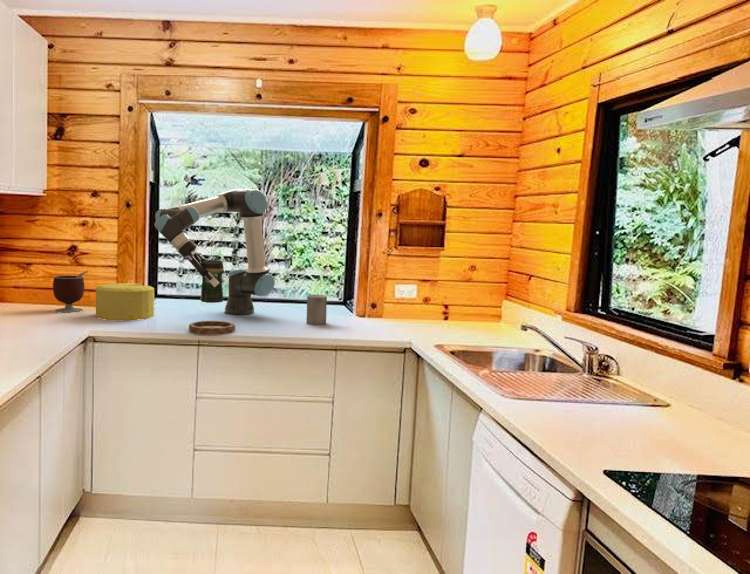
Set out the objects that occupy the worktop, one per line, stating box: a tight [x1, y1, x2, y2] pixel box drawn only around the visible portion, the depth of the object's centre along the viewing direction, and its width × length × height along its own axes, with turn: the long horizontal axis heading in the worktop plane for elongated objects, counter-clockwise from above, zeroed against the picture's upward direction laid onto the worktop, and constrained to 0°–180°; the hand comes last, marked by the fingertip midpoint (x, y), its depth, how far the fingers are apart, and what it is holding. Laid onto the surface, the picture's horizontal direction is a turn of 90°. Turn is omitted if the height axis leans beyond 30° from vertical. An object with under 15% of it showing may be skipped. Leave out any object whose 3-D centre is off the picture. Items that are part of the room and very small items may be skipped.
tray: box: [188, 320, 236, 335], centre depth 265 cm, size 19×19×3 cm
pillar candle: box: [306, 293, 328, 326], centre depth 294 cm, size 10×10×15 cm
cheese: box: [95, 282, 155, 321], centre depth 289 cm, size 26×26×15 cm
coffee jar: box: [200, 259, 225, 304], centre depth 262 cm, size 10×8×19 cm
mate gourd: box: [52, 270, 88, 314], centre depth 297 cm, size 16×14×20 cm
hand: (219, 283), depth 262 cm, fingers closed on coffee jar, 8 cm apart
